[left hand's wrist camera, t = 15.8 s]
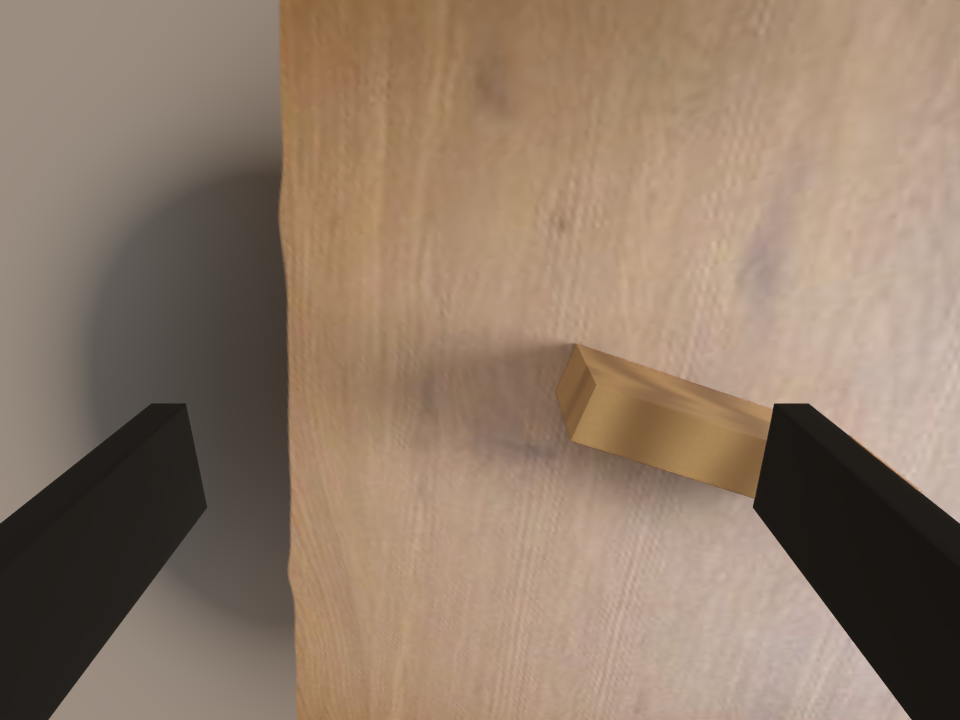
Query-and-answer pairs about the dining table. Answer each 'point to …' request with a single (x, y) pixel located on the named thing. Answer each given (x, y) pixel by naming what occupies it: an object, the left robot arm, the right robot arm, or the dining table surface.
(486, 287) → the dining table surface
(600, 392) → the bar
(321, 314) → the dining table surface
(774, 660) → the dining table surface
